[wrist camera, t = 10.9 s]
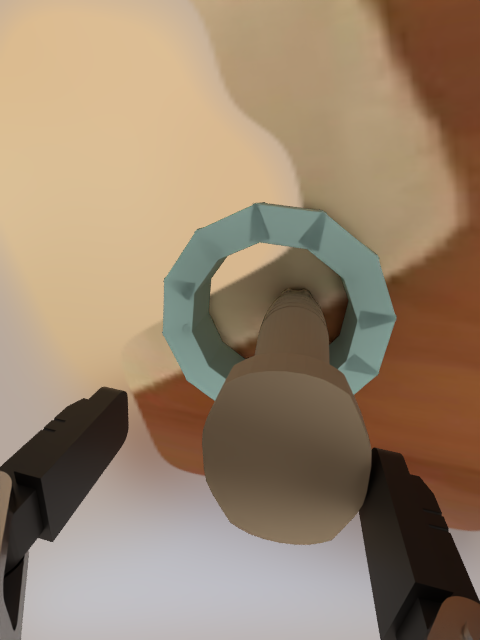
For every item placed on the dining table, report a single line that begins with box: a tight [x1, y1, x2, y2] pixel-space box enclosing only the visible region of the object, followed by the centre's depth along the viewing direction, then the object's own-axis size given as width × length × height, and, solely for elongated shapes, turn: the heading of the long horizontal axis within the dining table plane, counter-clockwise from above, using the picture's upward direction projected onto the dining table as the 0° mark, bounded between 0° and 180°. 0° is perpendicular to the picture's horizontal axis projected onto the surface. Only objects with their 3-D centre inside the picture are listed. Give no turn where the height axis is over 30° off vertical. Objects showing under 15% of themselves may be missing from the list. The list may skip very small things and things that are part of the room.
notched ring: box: [162, 202, 397, 401], centre depth 21 cm, size 14×14×4 cm
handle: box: [202, 289, 372, 545], centre depth 16 cm, size 5×6×15 cm
